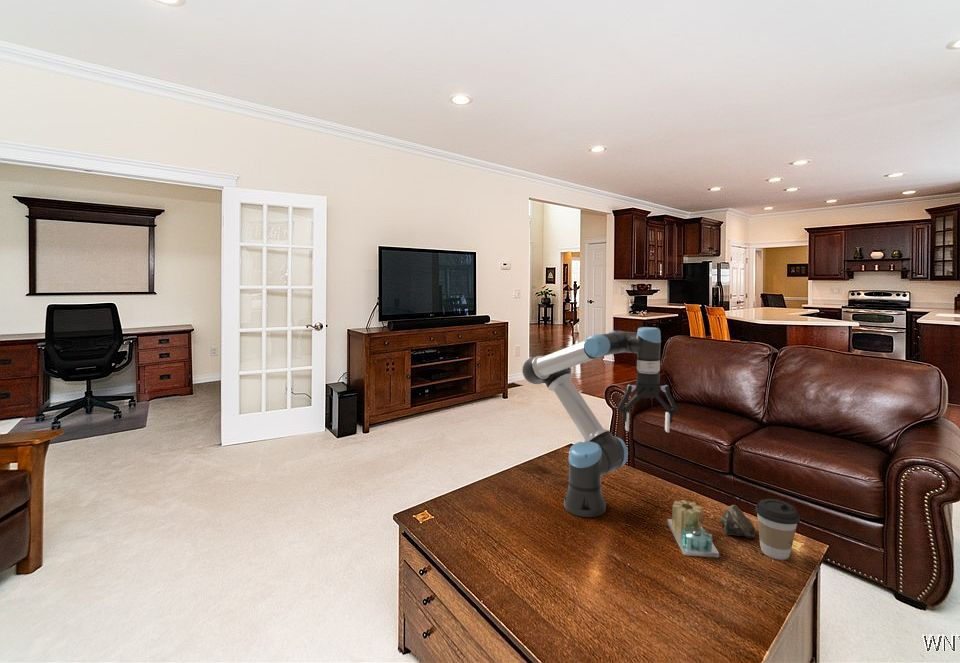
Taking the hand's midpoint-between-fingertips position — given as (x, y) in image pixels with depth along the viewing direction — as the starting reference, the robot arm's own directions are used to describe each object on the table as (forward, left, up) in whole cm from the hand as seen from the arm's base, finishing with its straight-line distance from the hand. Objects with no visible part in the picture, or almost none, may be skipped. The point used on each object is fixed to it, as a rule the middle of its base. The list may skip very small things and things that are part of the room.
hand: (646, 430), depth 153 cm
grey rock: (+26, +14, -31) cm, 43 cm away
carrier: (+19, -2, -31) cm, 36 cm away
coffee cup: (+38, +11, -31) cm, 50 cm away
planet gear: (+15, +1, -29) cm, 33 cm away
